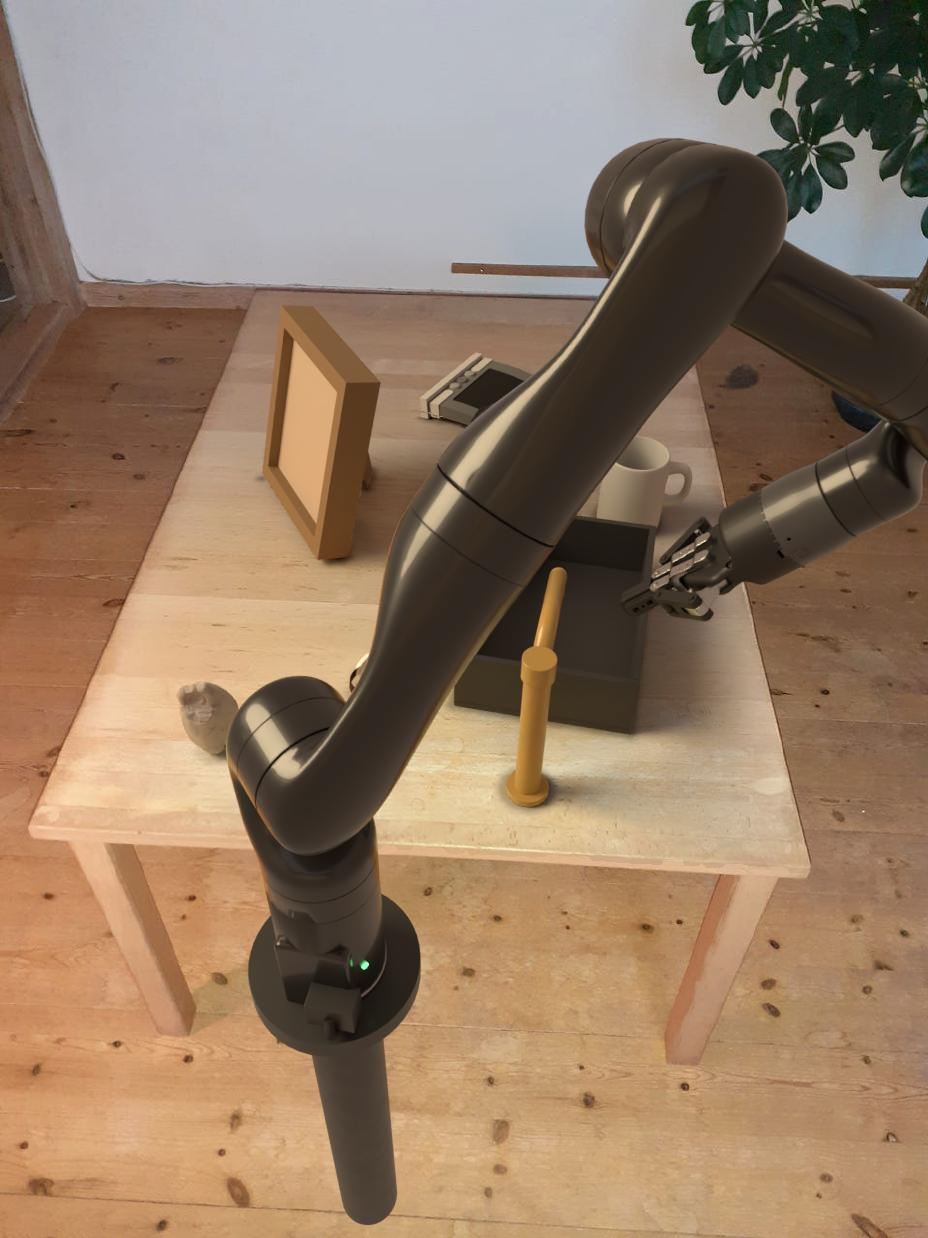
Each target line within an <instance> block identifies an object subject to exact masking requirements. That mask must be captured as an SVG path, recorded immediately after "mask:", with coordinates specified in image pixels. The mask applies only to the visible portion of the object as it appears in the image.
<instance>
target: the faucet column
mask: <svg viewBox="0 0 928 1238" xmlns="http://www.w3.org/2000/svg"><path fill="white" fill-rule="evenodd" d="M550 694H551V686H550V687H548V688H545V689H534V688H531V687H529V686H527V685H525V684H524V683H523V691H522V703H521V715H520V716H519V717H520V718H519V727H518V728H519V729H518V738H517V750H516V751H517V753H516V761H515V762H516V764H515V770H514V771H512V772H511V773H510V774H509V775H508V777H507V778H506V781H505V793H506V796H507V797H508V799H509V800H510V801H511V802H512V803H514V804H515V805H517V806H519V807H526V808H531V807H537V806H539V805H540V804H542V803H543V802H544V801H545V800H547V797H548V795H549V790H550V784H549V781H548V779H547V777H546V776H545V775H544V774H543V763H544V756H545V746H546V737H547V730H548V729H547V727H548V721H547V720H548V711H549V702H550Z"/></svg>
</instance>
